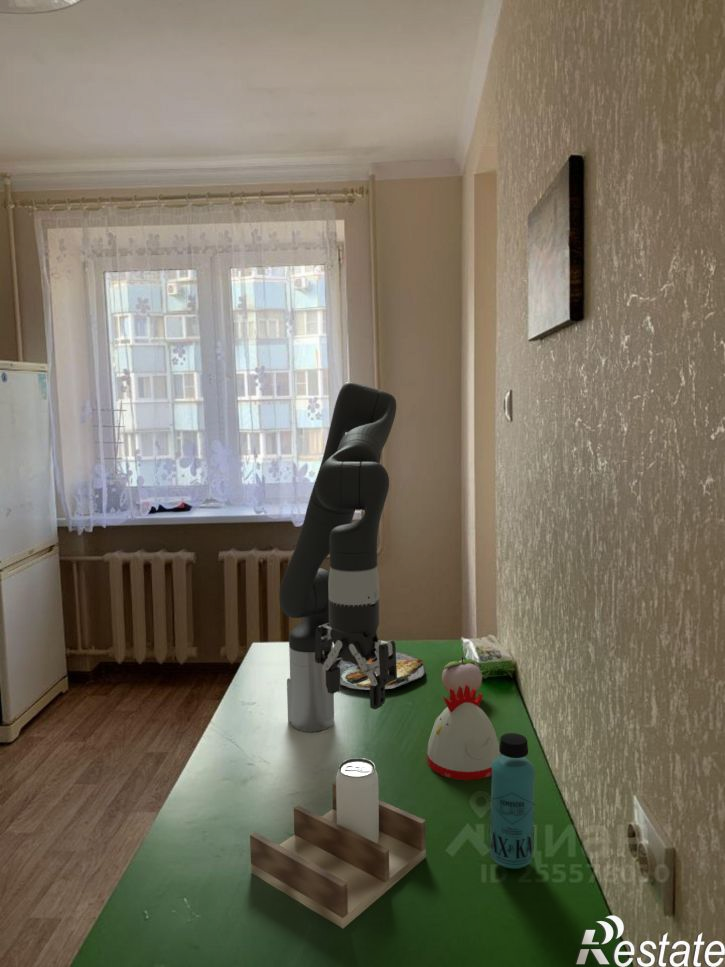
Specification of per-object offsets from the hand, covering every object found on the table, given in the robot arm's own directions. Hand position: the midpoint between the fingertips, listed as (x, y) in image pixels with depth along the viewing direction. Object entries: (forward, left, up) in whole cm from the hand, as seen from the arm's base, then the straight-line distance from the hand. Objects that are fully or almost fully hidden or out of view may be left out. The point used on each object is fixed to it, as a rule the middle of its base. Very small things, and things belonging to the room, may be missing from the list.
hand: (354, 699), depth 110 cm
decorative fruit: (-16, +57, -24) cm, 64 cm away
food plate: (-41, +56, -25) cm, 74 cm away
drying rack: (+1, -5, -24) cm, 25 cm away
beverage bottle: (+21, +11, -24) cm, 34 cm away
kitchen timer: (-1, +33, -24) cm, 41 cm away
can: (+1, 0, -23) cm, 23 cm away
